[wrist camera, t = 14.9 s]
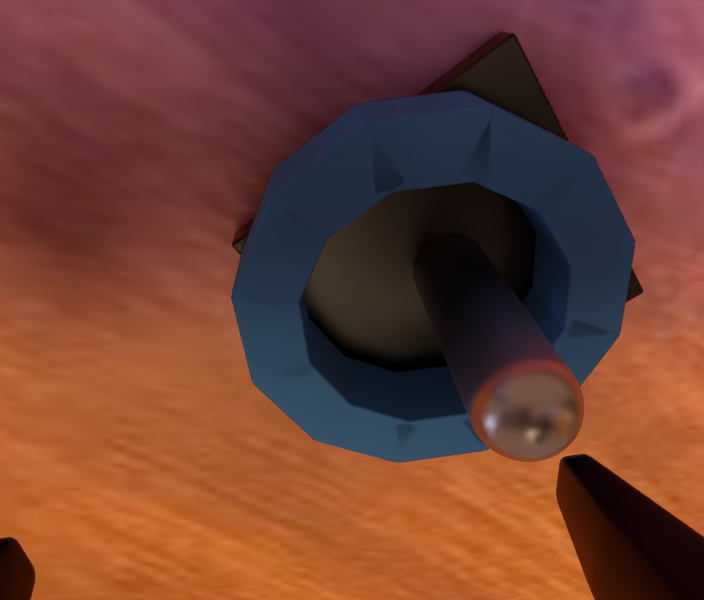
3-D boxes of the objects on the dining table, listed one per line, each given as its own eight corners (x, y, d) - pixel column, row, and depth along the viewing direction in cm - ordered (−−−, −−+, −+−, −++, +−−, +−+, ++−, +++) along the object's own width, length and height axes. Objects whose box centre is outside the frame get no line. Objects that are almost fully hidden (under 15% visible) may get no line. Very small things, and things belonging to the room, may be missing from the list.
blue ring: (376, 452, 19) (386, 507, 17) (170, 248, 15) (149, 289, 13) (637, 298, 17) (684, 340, 15) (483, 3, 12) (520, 4, 10)
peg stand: (401, 413, 20) (456, 645, 13) (233, 232, 16) (178, 419, 9) (628, 278, 18) (846, 463, 11) (501, 29, 14) (714, 59, 7)
